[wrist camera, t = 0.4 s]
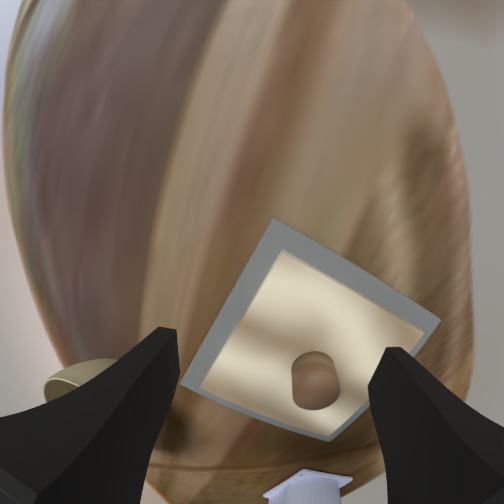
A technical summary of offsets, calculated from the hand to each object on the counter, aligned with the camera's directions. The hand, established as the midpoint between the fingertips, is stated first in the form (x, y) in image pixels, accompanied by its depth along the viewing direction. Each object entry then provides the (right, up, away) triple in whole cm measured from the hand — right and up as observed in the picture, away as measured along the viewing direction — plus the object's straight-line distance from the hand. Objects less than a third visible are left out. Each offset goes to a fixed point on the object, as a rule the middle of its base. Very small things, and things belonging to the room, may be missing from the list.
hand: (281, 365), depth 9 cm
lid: (+4, -5, +11) cm, 13 cm away
